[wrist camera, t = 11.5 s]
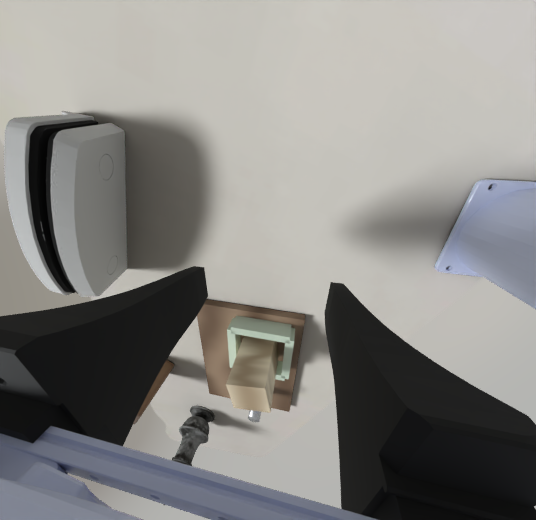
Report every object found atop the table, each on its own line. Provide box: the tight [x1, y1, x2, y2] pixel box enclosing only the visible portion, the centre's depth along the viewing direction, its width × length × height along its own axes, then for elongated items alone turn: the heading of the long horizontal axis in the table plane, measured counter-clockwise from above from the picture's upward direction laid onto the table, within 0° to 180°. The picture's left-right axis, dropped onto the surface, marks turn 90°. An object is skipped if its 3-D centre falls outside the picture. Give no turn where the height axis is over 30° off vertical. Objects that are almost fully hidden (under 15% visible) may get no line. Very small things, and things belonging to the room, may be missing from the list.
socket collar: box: [227, 316, 295, 381], centre depth 25 cm, size 8×8×2 cm
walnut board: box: [197, 299, 305, 412], centre depth 28 cm, size 14×20×1 cm
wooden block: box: [133, 360, 174, 424], centre depth 30 cm, size 4×4×8 cm
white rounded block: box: [4, 111, 127, 297], centre depth 18 cm, size 17×5×10 cm, turn 160°
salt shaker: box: [164, 406, 215, 505], centre depth 34 cm, size 6×6×12 cm
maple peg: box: [226, 336, 279, 413], centre depth 22 cm, size 4×4×7 cm
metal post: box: [248, 410, 261, 422], centre depth 28 cm, size 4×4×4 cm
